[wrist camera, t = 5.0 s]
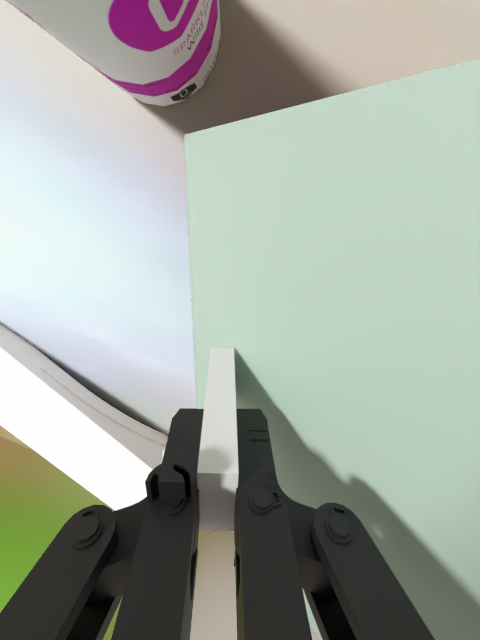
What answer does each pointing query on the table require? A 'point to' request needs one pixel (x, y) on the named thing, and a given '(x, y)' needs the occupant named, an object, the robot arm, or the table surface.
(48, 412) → the white rectangular bar
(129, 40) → the supplement can
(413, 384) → the lid
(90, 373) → the table surface
